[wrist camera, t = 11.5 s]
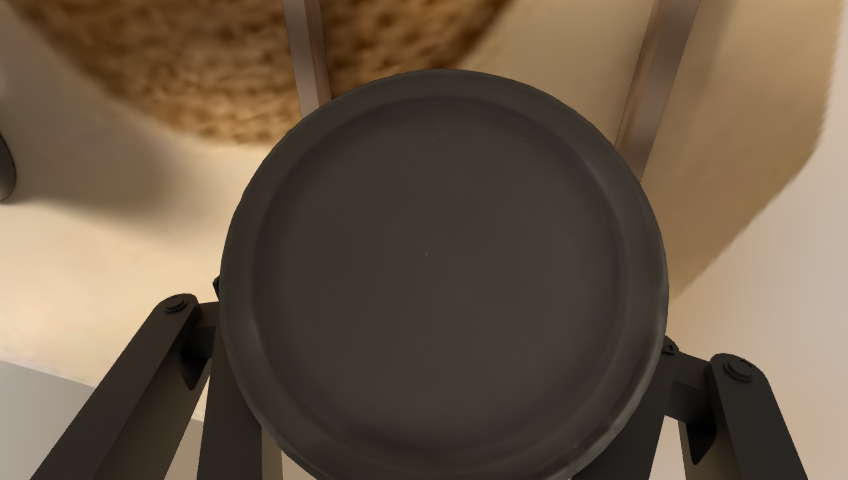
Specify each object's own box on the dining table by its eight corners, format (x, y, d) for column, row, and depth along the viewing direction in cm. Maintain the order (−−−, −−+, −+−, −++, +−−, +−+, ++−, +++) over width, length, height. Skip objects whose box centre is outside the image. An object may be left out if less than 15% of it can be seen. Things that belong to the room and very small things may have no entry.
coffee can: (335, 341, 22) (130, 363, 8) (412, 196, 24) (347, 17, 10) (491, 428, 20) (561, 645, 6) (563, 263, 22) (736, 154, 8)
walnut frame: (583, 315, 36) (589, 334, 34) (342, 290, 39) (333, 306, 37) (730, -161, 19) (761, -185, 16) (278, -134, 22) (256, -151, 20)
